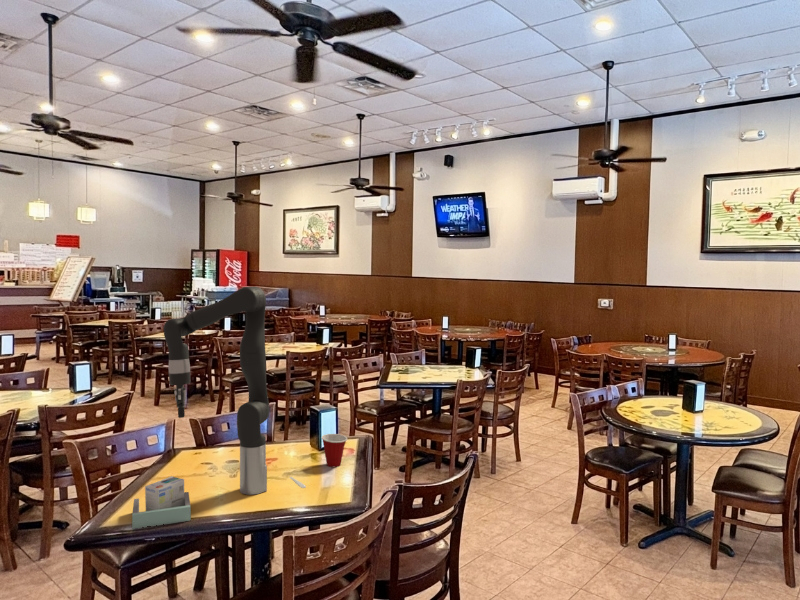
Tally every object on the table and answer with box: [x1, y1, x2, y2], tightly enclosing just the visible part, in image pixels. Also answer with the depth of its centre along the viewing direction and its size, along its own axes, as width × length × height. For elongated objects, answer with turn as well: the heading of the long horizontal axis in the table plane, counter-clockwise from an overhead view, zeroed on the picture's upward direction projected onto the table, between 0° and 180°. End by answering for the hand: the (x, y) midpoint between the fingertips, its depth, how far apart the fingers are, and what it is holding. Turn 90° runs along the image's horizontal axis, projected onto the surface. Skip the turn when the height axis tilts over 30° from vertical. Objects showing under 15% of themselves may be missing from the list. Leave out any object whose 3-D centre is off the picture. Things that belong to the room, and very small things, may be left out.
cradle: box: [131, 491, 192, 530], centre depth 183 cm, size 17×14×4 cm
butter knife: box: [289, 476, 307, 489], centre depth 220 cm, size 1×27×3 cm
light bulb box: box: [144, 475, 185, 511], centre depth 185 cm, size 11×7×11 cm, turn 151°
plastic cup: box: [321, 433, 348, 468], centre depth 235 cm, size 11×11×12 cm
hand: (181, 417), depth 210 cm, fingers closed
